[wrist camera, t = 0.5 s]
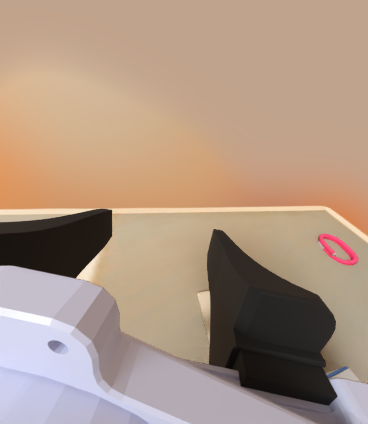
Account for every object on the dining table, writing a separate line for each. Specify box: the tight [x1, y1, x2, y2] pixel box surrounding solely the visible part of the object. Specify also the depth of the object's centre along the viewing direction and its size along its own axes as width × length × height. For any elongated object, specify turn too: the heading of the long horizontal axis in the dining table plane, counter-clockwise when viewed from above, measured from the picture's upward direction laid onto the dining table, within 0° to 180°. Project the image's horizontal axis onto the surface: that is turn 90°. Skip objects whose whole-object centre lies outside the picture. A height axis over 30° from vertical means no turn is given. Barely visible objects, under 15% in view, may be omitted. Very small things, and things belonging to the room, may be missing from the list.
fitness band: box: [318, 234, 358, 265], centre depth 38 cm, size 8×6×2 cm
